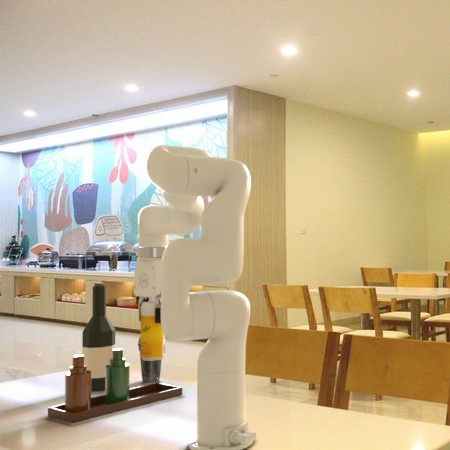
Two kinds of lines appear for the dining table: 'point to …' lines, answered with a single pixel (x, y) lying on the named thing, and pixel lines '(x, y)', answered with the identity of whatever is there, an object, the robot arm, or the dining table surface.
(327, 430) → the dining table surface
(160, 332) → the beer can
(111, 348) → the wine bottle
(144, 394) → the tray
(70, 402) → the amber bottle
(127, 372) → the green bottle
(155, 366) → the beverage cup
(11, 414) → the dining table surface
